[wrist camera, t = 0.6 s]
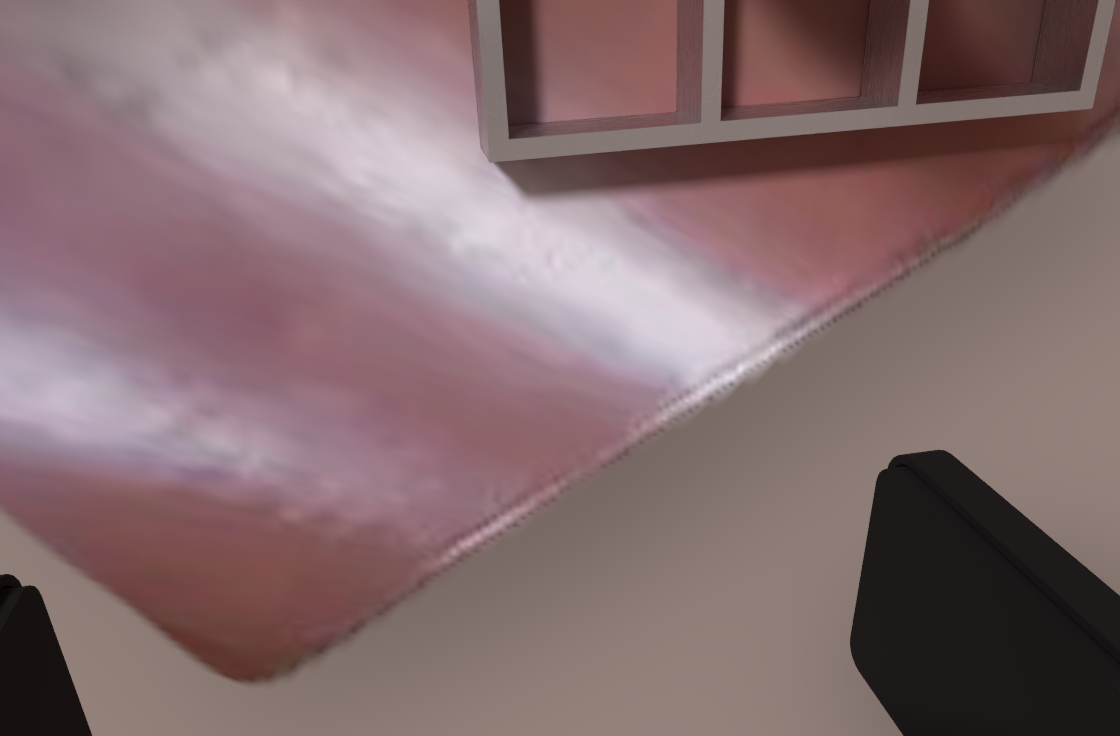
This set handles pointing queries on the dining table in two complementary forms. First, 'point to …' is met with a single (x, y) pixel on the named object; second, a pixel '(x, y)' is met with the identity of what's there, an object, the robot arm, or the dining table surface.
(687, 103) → the rack with square compartments
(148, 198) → the dining table surface
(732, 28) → the dining table surface
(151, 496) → the dining table surface
